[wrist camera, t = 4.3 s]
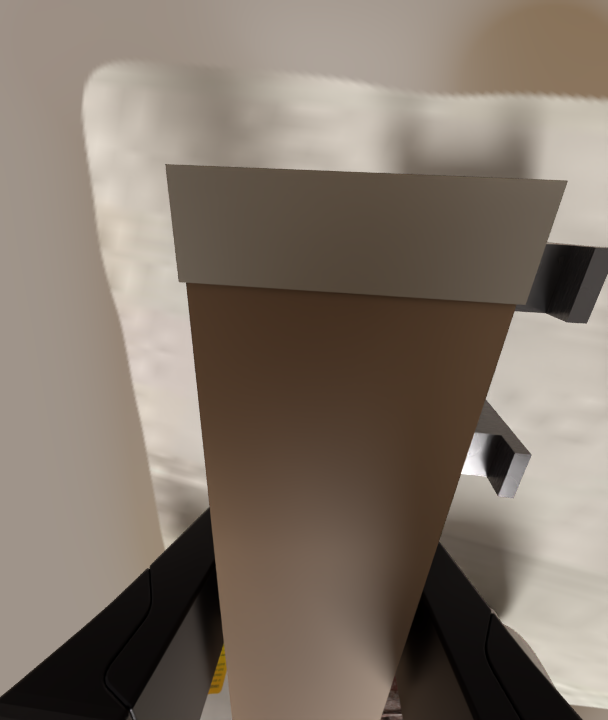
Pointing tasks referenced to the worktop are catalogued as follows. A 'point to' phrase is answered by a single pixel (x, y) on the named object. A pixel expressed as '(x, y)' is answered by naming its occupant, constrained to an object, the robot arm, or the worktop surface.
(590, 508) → the worktop surface
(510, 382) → the worktop surface
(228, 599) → the rail
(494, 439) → the post
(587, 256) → the post
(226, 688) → the supplement bottle
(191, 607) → the robot arm
